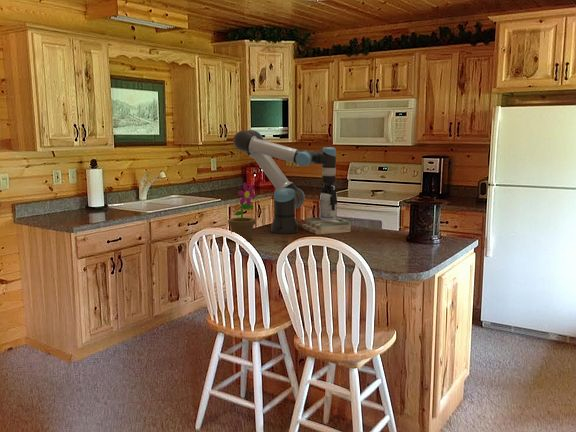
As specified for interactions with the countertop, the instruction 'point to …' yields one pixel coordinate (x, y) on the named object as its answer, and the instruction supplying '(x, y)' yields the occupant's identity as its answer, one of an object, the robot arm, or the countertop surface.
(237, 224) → the flowerpot
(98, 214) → the countertop surface
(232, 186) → the countertop surface
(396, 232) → the countertop surface
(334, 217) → the supplement tub
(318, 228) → the shallow square tray
